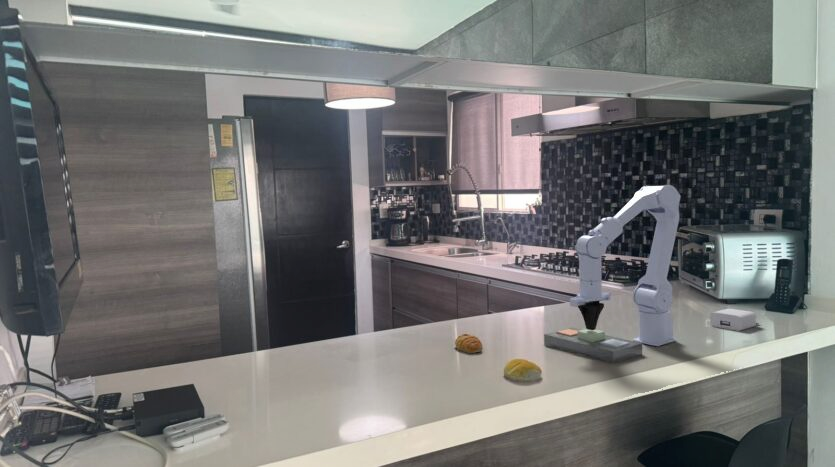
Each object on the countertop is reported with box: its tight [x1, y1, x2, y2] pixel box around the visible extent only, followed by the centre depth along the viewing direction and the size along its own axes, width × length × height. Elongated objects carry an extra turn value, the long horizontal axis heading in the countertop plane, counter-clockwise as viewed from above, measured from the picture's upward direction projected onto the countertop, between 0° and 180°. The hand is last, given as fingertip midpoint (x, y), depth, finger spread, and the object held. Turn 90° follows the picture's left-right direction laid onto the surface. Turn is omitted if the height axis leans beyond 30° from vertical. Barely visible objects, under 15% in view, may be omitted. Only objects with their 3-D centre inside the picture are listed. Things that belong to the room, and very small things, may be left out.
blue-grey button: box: [600, 339, 629, 348], centre depth 145 cm, size 5×5×3 cm
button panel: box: [543, 327, 643, 364], centre depth 151 cm, size 12×23×3 cm, turn 34°
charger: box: [709, 308, 757, 332], centre depth 173 cm, size 5×9×15 cm
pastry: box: [454, 333, 483, 354], centre depth 155 cm, size 9×7×4 cm
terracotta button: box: [557, 328, 578, 337], centre depth 157 cm, size 5×5×3 cm
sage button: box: [578, 328, 606, 342], centre depth 151 cm, size 5×5×3 cm
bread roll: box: [503, 358, 543, 383], centre depth 131 cm, size 8×9×4 cm
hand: (590, 329), depth 151 cm, fingers closed
